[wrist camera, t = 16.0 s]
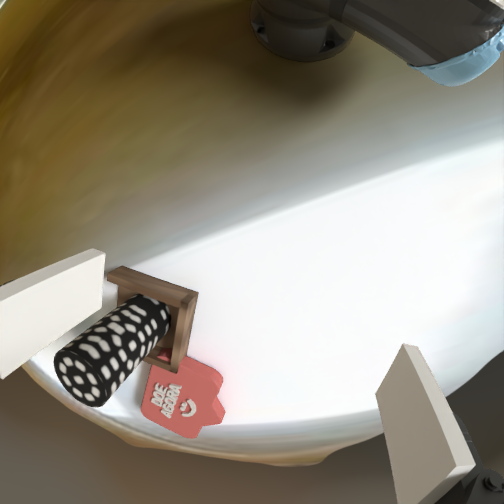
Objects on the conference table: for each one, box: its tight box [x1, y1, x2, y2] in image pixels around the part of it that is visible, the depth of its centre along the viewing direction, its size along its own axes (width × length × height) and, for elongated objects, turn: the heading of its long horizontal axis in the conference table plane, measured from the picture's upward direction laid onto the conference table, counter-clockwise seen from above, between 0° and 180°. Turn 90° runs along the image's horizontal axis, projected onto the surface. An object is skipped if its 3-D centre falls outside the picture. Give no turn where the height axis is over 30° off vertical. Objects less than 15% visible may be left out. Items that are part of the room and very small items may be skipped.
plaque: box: [141, 348, 225, 438], centre depth 51 cm, size 18×4×15 cm
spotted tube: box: [54, 293, 171, 407], centre depth 40 cm, size 8×8×20 cm
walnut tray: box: [107, 266, 199, 374], centre depth 48 cm, size 13×14×4 cm
